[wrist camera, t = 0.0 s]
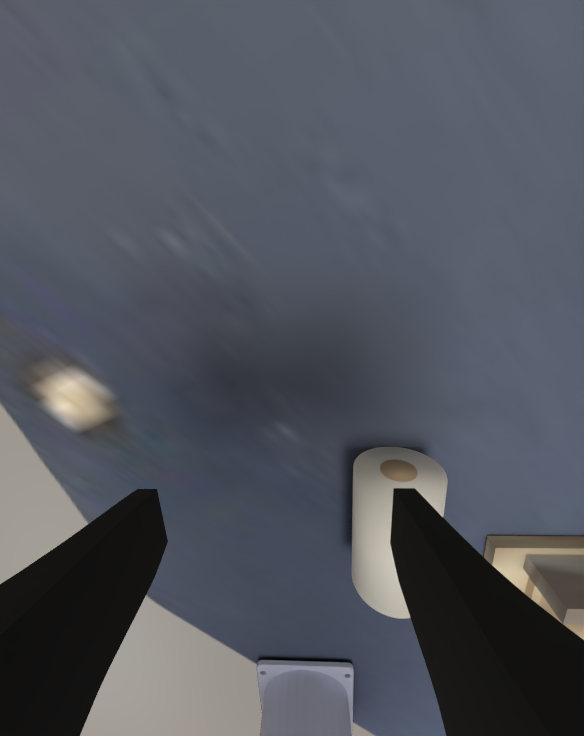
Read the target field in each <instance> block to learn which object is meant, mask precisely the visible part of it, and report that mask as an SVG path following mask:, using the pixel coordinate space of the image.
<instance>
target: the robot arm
mask: <svg viewBox="0 0 584 736" xmlns="http://www.w3.org/2000/svg"><path fill="white" fill-rule="evenodd" d="M167 542H168V540H167V536H166V531H165V526H164V521H163V516H162V512H161V507H160V502H159V497H158V492H157V489H137V490H136V491H134V492H133V493H131V494H130V495H128V496H127V497H125V498H124V499H123V500H121V501H120V502H118V503H117V504H116V505H114V506H113V507H111V508H110V509H109V510H107V511H106V512H105V513H103V514H102V515H101V516H99V517H98V518H96V519H95V520H94V521H92V522H91V523H89V524H88V525H87V526H86V527H84V528H83V529H81V530H80V531H79V532H77V533H76V534H74V535H73V536H72V537H70V538H69V539H67V540H66V541H65V542H63V543H62V544H60V545H59V546H57V547H56V548H54V549H53V550H51V551H50V552H48V553H47V554H46V555H44V556H42V557H41V558H40V559H38V560H37V561H35V562H34V563H32V564H31V565H29V566H28V567H26V568H25V569H23V570H22V571H20V572H19V573H17V574H16V575H14V576H13V577H11V578H10V579H8V580H6V581H5V582H3V583H2V584H0V736H80V733H81V731H82V729H83V726H84V724H85V721H86V719H87V717H88V714H89V712H90V710H91V707H92V705H93V702H94V700H95V697H96V695H97V693H98V690H99V688H100V686H101V684H102V682H103V680H104V677H105V675H106V673H107V671H108V669H109V667H110V665H111V663H112V661H113V659H114V657H115V655H116V653H117V651H118V649H119V647H120V645H121V643H122V641H123V639H124V637H125V635H126V633H127V631H128V629H129V627H130V625H131V623H132V621H133V620H134V617H135V616H136V613H137V612H138V610H139V608H140V606H141V604H142V602H143V599H144V598H145V596H146V594H147V592H148V590H149V588H150V586H151V583H152V581H153V579H154V577H155V575H156V572H157V569H158V567H159V564H160V562H161V559H162V556H163V553H164V550H165V548H166V545H167ZM390 545H391V549H392V554H393V559H394V563H395V568H396V572H397V576H398V581H399V584H400V587H401V590H402V593H403V596H404V599H405V602H406V605H407V608H408V611H409V614H410V617H411V620H412V623H413V626H414V629H415V632H416V635H417V638H418V641H419V644H420V647H421V650H422V653H423V656H424V659H425V662H426V665H427V668H428V671H429V674H430V677H431V681H432V684H433V687H434V691H435V694H436V697H437V701H438V704H439V708H440V712H441V716H442V720H443V724H444V728H445V731H446V735H447V736H584V640H583V639H582V638H581V637H579V636H578V635H577V634H575V633H574V632H573V631H571V630H570V629H569V628H567V627H566V626H565V625H563V624H562V623H561V622H560V621H558V620H557V619H556V618H555V617H553V616H552V615H551V614H550V613H548V612H547V611H546V610H544V609H543V608H542V607H541V606H539V605H538V604H537V603H536V602H534V601H533V600H532V599H531V598H529V597H528V596H527V595H526V594H525V593H523V592H522V591H521V590H520V589H519V588H517V587H516V586H515V585H514V584H513V583H512V582H510V581H509V580H508V579H507V578H506V577H505V576H504V575H503V574H501V573H500V572H499V571H498V570H497V569H496V568H495V567H494V566H492V565H491V564H490V563H489V562H488V561H487V560H486V559H485V558H484V557H483V556H482V555H480V554H479V553H478V552H477V551H476V550H475V549H474V548H473V547H472V546H471V545H470V544H469V543H468V542H467V541H466V540H465V539H464V538H463V537H462V536H461V535H460V534H459V533H458V532H457V531H456V530H455V529H454V528H453V527H452V526H451V525H450V524H449V523H448V522H447V521H446V520H445V519H444V518H443V517H442V516H441V515H440V514H439V513H438V512H437V511H436V510H435V509H434V508H433V507H432V506H431V505H430V503H429V502H428V501H427V500H426V499H425V498H424V497H423V496H422V495H421V494H420V493H419V492H418V491H417V490H416V489H415V488H394V489H393V505H392V521H391V538H390ZM257 675H258V684H259V692H260V701H261V708H262V721H261V730H260V736H352V726H353V677H354V670H353V665H352V664H351V663H348V662H318V661H286V660H260V661H258V662H257Z"/></svg>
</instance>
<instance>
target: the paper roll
mask: <svg viewBox="0 0 584 736" xmlns="http://www.w3.org/2000/svg"><path fill="white" fill-rule="evenodd" d="M447 483H448V480H447V475H446V473H445V471H444V469H443V468H442V467H441V466H440V465H439V464H438V463H437V462H436V461H435V460H433V459H432V458H430V457H428V456H426V455H424V454H422V453H420V452H417V451H414V450H411V449H407V448H402V447H377V448H372V449H369V450H367V451H364V452H363V453H361V454H360V455H359V456H358V457H357V458H356V459H355V461H354V464H353V511H352V580H353V583H354V586H355V588H356V590H357V592H358V594H359V595H360V596H361V598H362V599H363V600H364V601H365V602H366V603H367V604H368V605H369V606H370V607H372V608H373V609H375V610H376V611H378V612H380V613H382V614H384V615H386V616H389V617H393V618H400V619H406V618H411V617H410V614H409V611H408V608H407V605H406V602H405V599H404V596H403V593H402V590H401V587H400V584H399V581H398V576H397V572H396V568H395V563H394V559H393V554H392V549H391V545H390V538H391V521H392V505H393V489H394V488H415V489H416V490H417V491H418V492H419V493H420V494H421V495H422V496H423V497H424V498H425V499H426V500H427V501H428V502H429V503H430V505H431V506H432V507H433V508H434V509H435V510H436V511H437V512H438V513H439V514H440V515H441V516H442V517H443V515H444V507H445V499H446V491H447Z"/></svg>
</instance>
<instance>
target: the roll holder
mask: <svg viewBox="0 0 584 736" xmlns="http://www.w3.org/2000/svg"><path fill="white" fill-rule="evenodd" d="M484 558H485V559H486V560H487V561H488V562H489V563H490V564H491V565H492V566H494V567H495V568H496V569H497V570H498V571H499V572H500V573H501V574H503V575H504V576H505V577H506V578H507V579H508V580H509V581H510V582H512V583H513V584H514V585H515V586H516V587H517V588H519V589H520V590H521V591H522V592H523V593H525V594H526V595H527V596H528V597H529V598H531V599H532V600H533V601H534V602H536V603H537V604H538V605H539V606H541V607H542V608H543V609H544V610H546V611H547V612H548V613H550V614H551V615H552V616H553V617H555V618H556V619H557V620H558V621H560V622H561V623H562V624H563V625H565V626H566V627H567V628H569V629H570V630H571V631H573V632H574V633H575V634H577V635H578V636H579V637H581V638H582V639H583V640H584V536H487V541H486V547H485V553H484Z"/></svg>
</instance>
